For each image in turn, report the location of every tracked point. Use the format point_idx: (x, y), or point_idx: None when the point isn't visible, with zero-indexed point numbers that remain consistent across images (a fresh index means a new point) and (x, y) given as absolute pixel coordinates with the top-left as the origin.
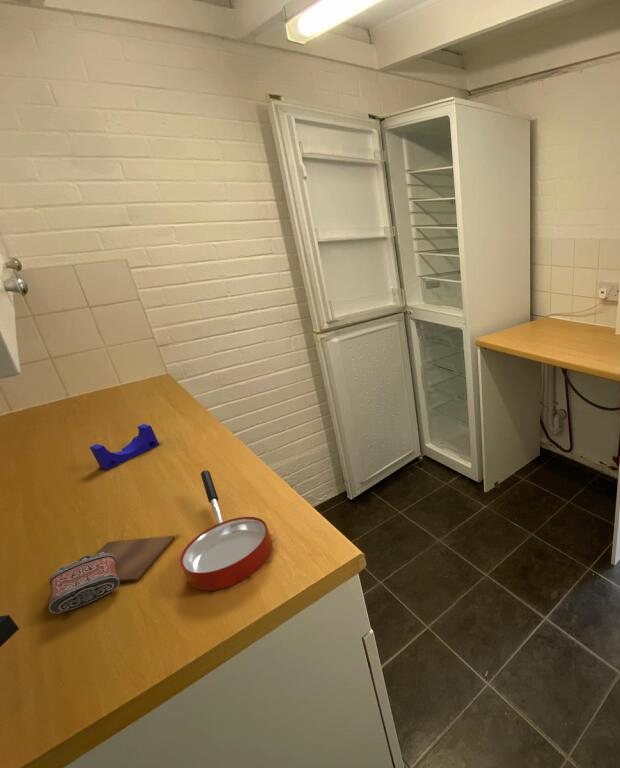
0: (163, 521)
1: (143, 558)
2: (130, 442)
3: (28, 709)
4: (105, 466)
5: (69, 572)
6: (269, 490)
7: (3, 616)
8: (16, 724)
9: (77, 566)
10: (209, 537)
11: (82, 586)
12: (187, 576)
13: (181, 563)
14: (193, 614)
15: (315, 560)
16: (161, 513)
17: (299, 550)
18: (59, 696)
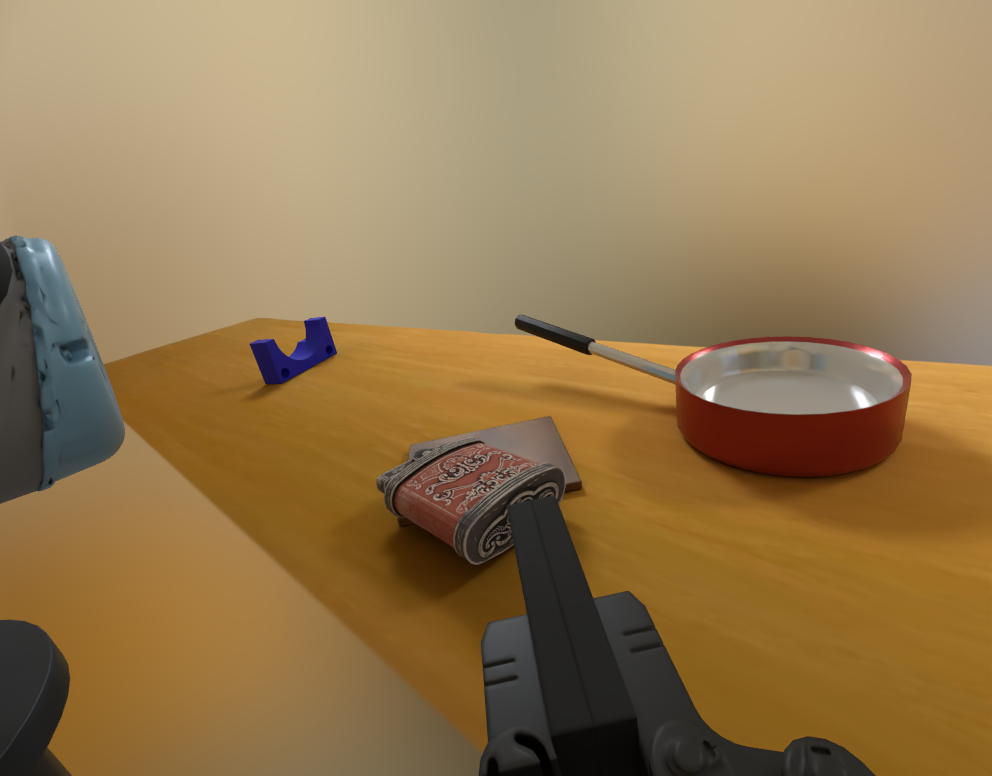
0: (483, 409)
1: (539, 451)
2: (295, 350)
3: None
4: (278, 377)
5: (431, 471)
6: (637, 350)
7: (539, 501)
8: None
9: (436, 460)
10: (689, 382)
11: (518, 484)
12: (773, 439)
13: (739, 409)
14: (899, 526)
15: None
16: (460, 402)
17: (918, 390)
18: None
